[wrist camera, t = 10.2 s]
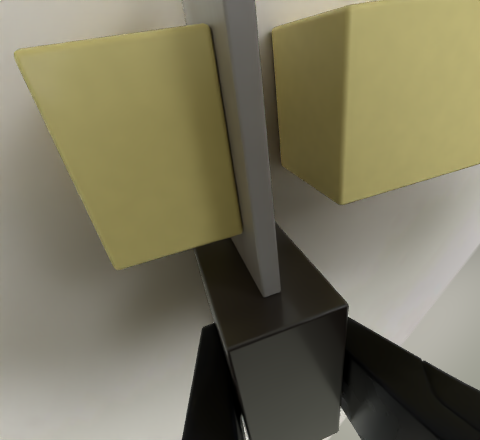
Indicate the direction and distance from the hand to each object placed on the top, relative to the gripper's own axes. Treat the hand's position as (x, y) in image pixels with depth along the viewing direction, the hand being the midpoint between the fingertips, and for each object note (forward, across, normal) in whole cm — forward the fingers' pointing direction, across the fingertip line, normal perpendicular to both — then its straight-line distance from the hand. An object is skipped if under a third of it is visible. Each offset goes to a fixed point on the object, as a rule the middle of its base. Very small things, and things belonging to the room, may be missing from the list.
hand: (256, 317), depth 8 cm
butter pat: (+2, +1, -6) cm, 6 cm away
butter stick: (+2, -5, -6) cm, 8 cm away
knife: (+1, 0, -3) cm, 3 cm away
